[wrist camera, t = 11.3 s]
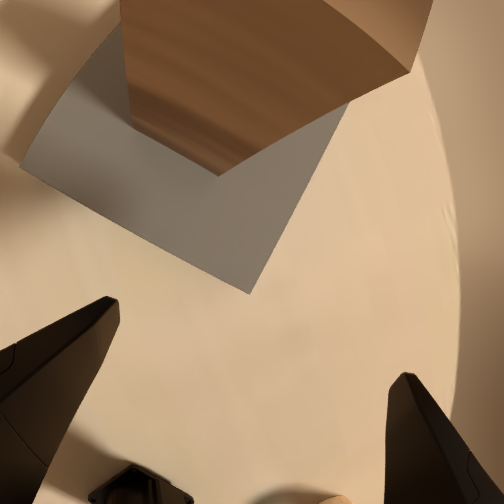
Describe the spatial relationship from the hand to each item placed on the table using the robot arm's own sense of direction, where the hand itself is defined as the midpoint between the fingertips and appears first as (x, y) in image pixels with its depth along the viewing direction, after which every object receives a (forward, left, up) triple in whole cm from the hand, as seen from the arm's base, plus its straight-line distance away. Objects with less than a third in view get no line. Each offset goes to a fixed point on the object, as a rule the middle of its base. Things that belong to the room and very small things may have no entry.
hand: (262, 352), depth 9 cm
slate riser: (+6, +8, -11) cm, 14 cm away
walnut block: (+6, +8, -8) cm, 12 cm away
